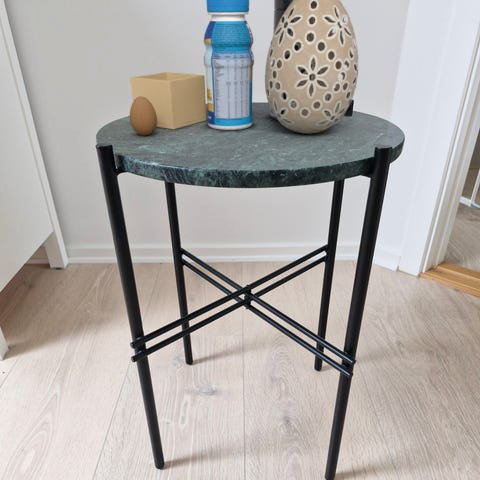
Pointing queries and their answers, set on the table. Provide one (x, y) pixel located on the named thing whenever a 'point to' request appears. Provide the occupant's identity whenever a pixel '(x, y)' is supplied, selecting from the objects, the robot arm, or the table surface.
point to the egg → (143, 116)
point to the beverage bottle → (229, 65)
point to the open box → (173, 97)
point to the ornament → (313, 51)
